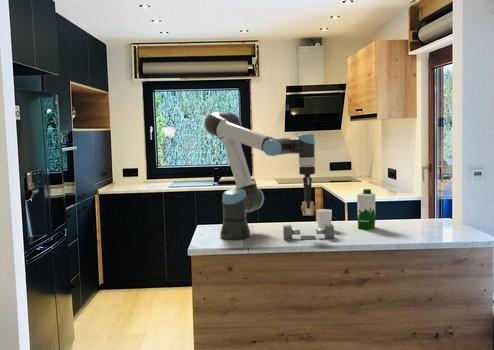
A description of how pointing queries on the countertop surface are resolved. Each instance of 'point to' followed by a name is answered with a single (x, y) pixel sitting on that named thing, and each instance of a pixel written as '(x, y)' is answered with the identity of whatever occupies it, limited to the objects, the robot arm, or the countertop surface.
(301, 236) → the pad
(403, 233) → the countertop surface
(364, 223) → the milk carton
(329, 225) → the grey knob with stem
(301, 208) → the coupler
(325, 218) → the white cup
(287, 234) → the bearing
